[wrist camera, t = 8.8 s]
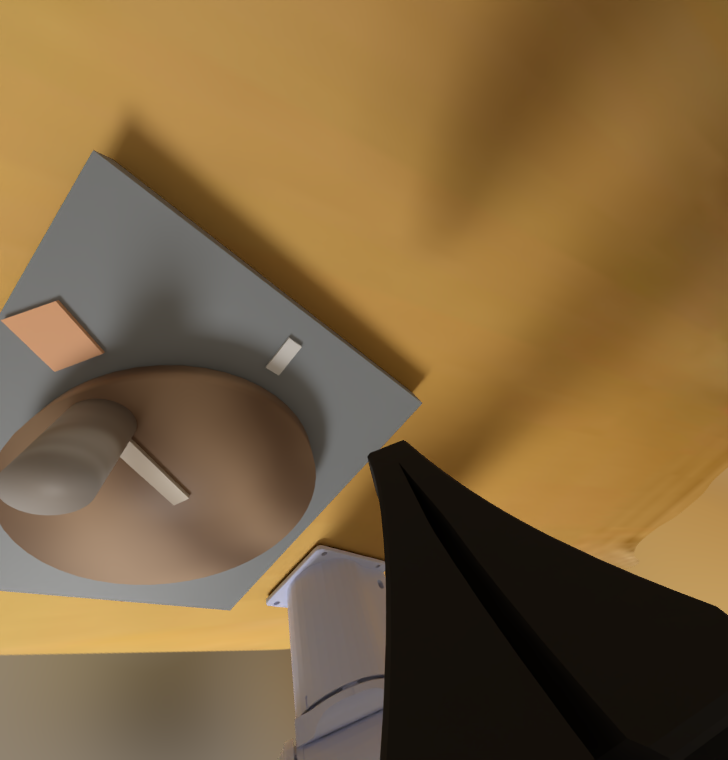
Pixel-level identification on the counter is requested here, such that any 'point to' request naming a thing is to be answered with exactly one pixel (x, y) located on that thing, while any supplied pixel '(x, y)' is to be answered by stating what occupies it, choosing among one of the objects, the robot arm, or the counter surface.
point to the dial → (156, 476)
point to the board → (176, 354)
